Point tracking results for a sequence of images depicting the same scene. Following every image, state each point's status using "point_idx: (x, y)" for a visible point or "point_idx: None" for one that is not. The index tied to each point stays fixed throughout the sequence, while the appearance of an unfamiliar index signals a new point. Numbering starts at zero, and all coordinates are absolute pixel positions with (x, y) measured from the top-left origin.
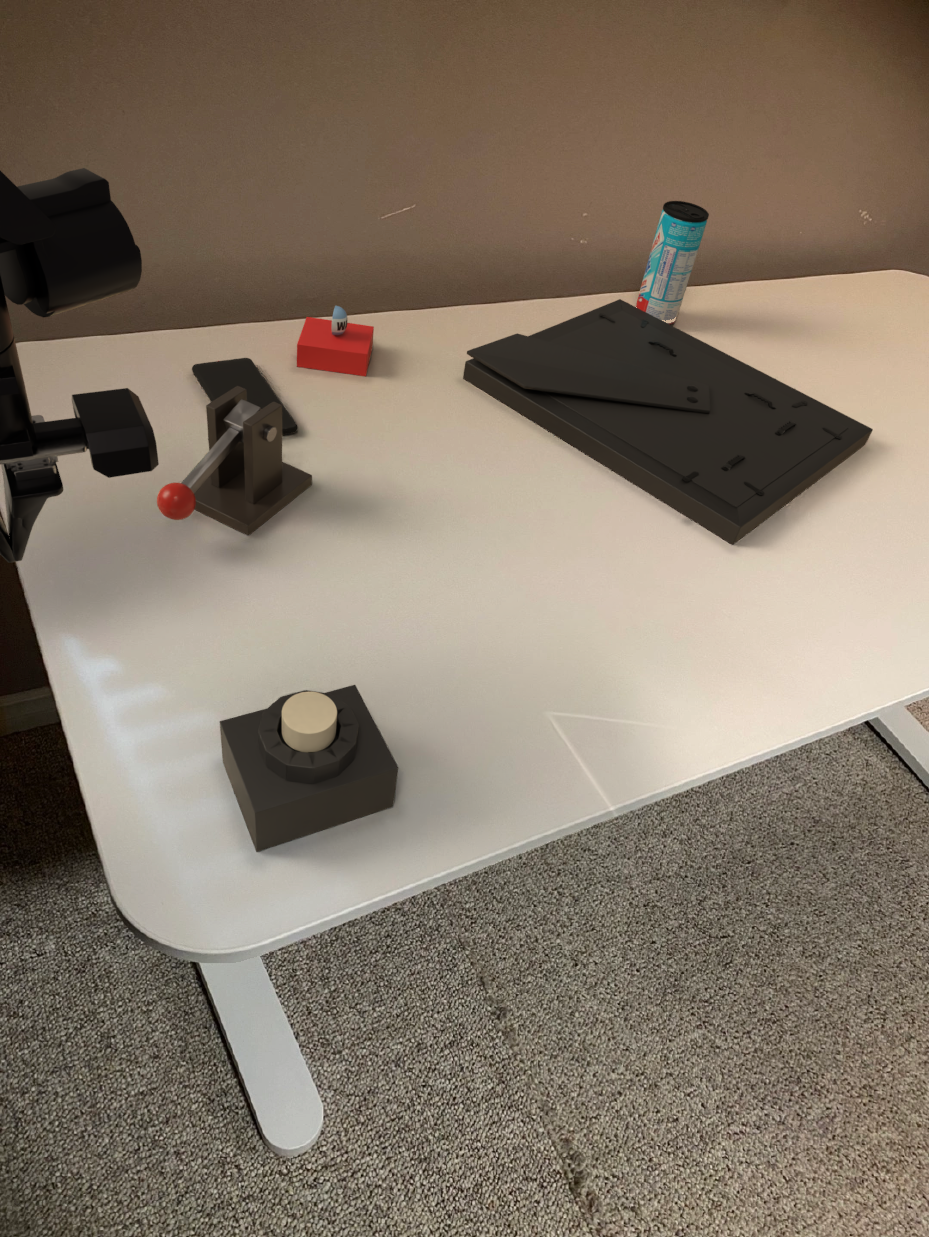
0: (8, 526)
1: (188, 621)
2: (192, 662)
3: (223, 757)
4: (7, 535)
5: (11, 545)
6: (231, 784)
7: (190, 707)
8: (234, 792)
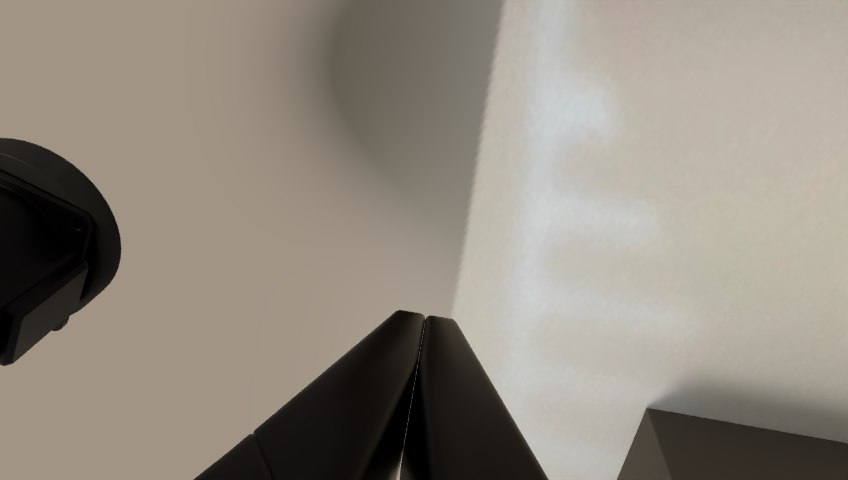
0: (414, 451)
1: (837, 59)
2: (752, 189)
3: (649, 432)
4: (398, 442)
5: (403, 459)
6: (631, 448)
7: (672, 289)
8: (627, 459)
